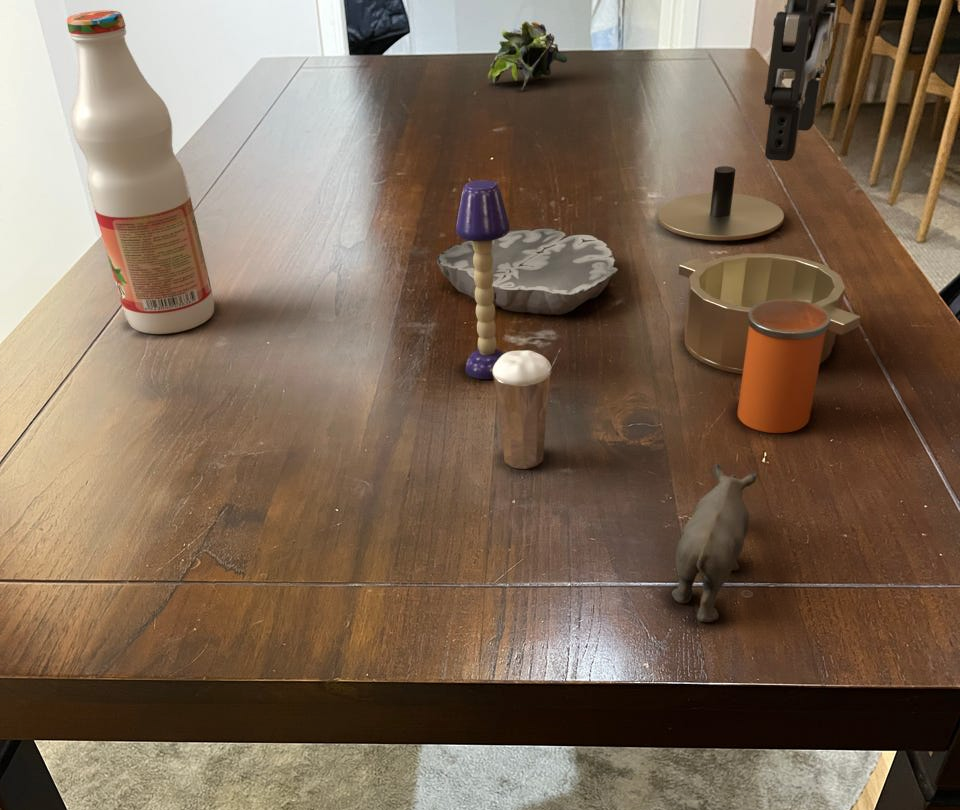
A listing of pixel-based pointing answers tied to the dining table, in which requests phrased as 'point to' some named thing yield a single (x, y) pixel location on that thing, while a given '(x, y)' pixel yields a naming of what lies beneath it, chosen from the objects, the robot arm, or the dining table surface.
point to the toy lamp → (483, 265)
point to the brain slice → (536, 270)
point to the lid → (721, 212)
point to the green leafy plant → (526, 53)
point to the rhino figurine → (713, 541)
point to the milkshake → (522, 405)
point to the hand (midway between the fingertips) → (789, 143)
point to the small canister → (781, 364)
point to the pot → (753, 302)
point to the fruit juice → (137, 183)
